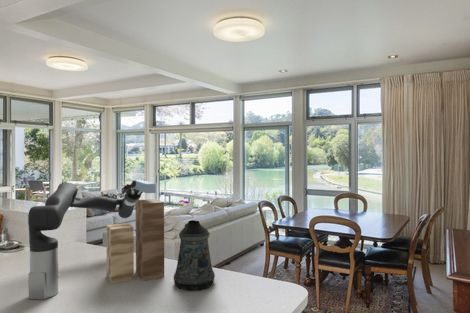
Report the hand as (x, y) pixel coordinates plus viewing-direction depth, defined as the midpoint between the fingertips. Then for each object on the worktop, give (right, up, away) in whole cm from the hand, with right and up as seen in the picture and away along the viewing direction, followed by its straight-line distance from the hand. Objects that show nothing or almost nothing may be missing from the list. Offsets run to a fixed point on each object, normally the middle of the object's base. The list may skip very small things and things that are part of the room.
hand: (140, 182), depth 159 cm
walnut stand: (+8, -39, -13) cm, 42 cm away
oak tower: (-4, -39, -16) cm, 43 cm away
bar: (+3, -3, -5) cm, 7 cm away
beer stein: (+28, -40, -22) cm, 53 cm away
